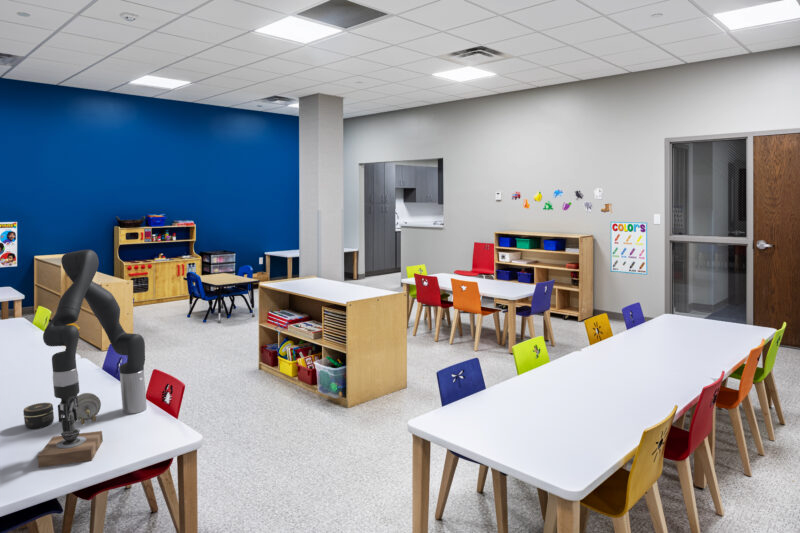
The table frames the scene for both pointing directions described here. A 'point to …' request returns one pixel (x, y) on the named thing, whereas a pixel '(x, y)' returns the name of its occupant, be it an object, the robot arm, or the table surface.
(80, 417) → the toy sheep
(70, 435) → the stone chess piece
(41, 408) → the jar
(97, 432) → the walnut plinth
